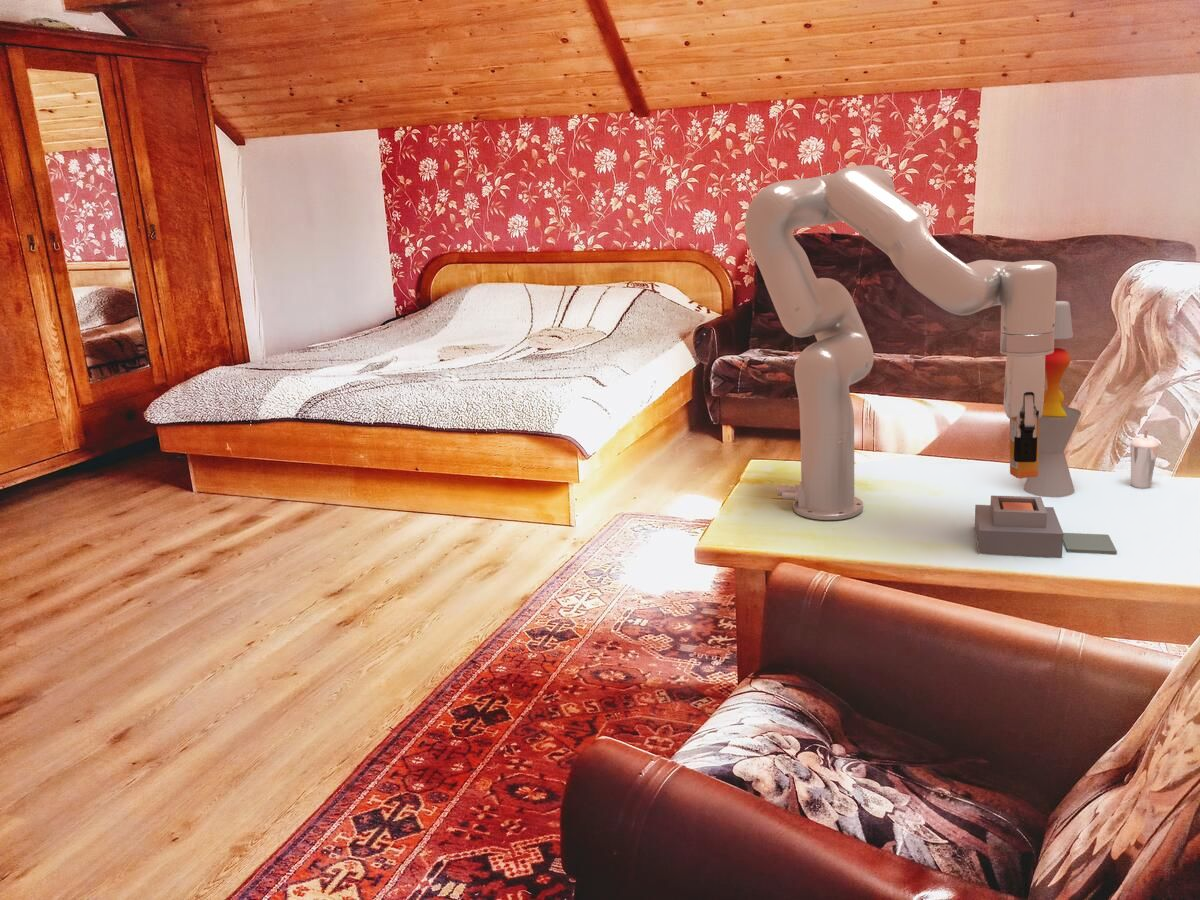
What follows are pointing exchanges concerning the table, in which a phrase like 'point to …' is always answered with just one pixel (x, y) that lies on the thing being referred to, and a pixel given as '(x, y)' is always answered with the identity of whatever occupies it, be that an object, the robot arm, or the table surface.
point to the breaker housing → (1018, 529)
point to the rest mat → (1088, 543)
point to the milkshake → (1143, 460)
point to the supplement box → (1022, 468)
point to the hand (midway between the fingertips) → (1023, 456)
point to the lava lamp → (1055, 419)
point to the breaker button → (1017, 506)
